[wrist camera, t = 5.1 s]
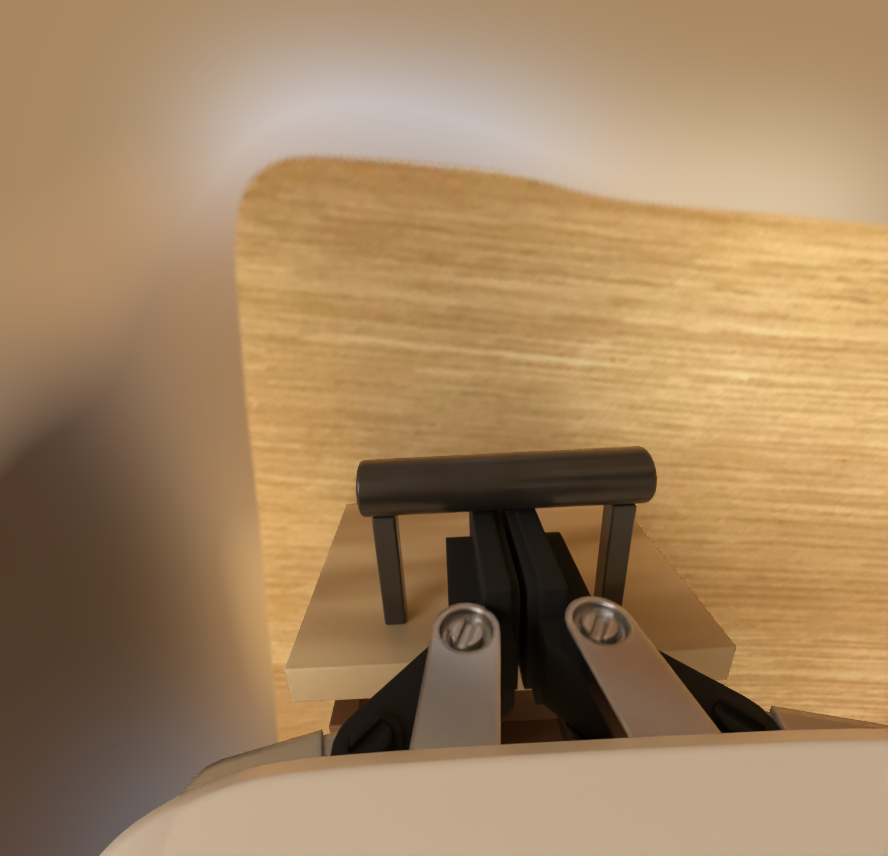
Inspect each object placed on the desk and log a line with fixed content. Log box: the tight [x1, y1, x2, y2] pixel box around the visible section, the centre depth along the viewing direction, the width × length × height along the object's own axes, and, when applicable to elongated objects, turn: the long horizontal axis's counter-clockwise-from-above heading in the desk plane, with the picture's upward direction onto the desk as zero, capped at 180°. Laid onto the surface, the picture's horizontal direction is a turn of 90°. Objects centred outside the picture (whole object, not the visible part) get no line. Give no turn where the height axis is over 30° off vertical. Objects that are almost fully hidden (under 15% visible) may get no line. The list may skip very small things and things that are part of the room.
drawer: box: [285, 446, 736, 745], centre depth 15 cm, size 18×11×8 cm, turn 3°
